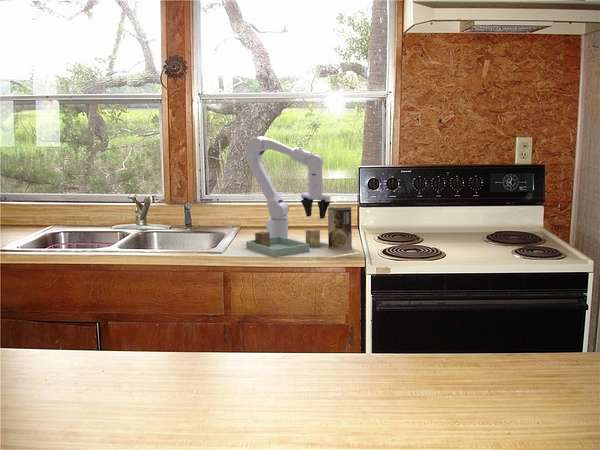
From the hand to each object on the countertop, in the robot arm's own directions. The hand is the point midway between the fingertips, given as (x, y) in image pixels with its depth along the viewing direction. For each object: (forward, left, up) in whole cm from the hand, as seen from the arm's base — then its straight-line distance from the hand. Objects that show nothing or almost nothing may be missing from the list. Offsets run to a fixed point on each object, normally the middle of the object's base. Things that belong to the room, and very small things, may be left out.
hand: (315, 217), depth 266 cm
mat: (+8, -7, -10) cm, 15 cm away
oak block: (+8, -8, -9) cm, 14 cm away
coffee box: (+18, -2, -10) cm, 21 cm away
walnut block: (0, -26, -9) cm, 28 cm away
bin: (+6, -23, -10) cm, 26 cm away
